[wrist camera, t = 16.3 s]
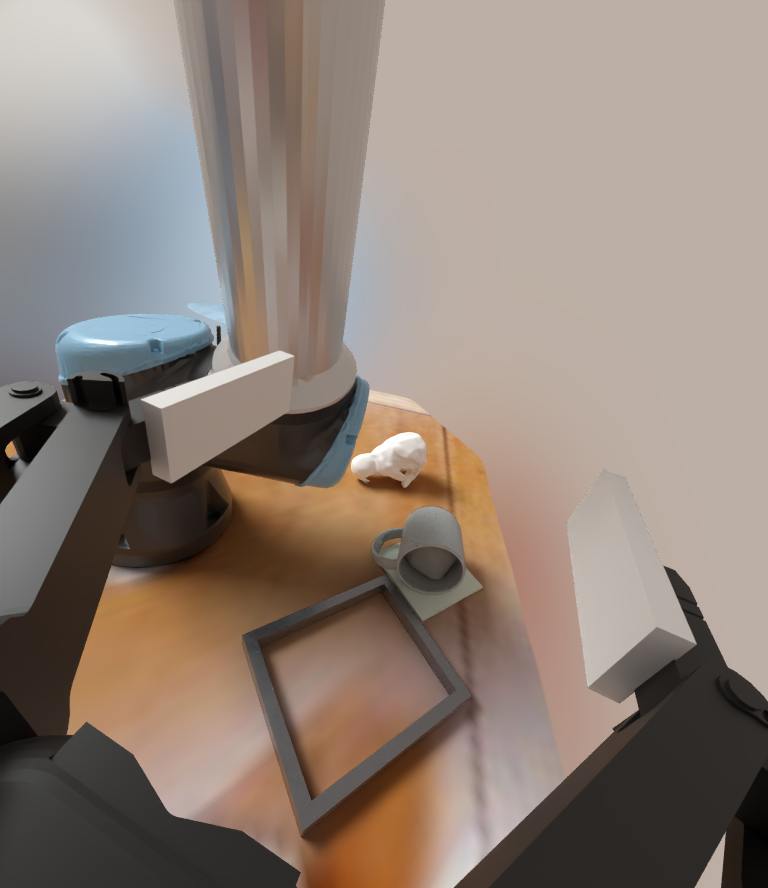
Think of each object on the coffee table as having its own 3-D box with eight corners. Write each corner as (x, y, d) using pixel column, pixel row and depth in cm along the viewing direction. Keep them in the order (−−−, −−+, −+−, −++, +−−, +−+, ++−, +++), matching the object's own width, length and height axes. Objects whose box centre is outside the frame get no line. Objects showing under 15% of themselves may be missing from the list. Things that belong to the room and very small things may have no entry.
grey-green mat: (373, 554, 44) (373, 551, 44) (431, 532, 50) (432, 530, 50) (421, 622, 38) (422, 620, 38) (481, 588, 44) (482, 586, 43)
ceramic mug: (450, 549, 47) (469, 506, 43) (453, 602, 40) (475, 557, 36) (375, 530, 48) (386, 486, 44) (364, 579, 40) (376, 532, 37)
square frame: (242, 644, 32) (242, 634, 31) (383, 581, 41) (386, 573, 40) (301, 836, 23) (303, 831, 22) (466, 702, 32) (471, 695, 31)
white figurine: (435, 445, 54) (359, 451, 50) (424, 487, 58) (354, 496, 54) (418, 424, 59) (349, 428, 55) (410, 464, 63) (345, 471, 59)
